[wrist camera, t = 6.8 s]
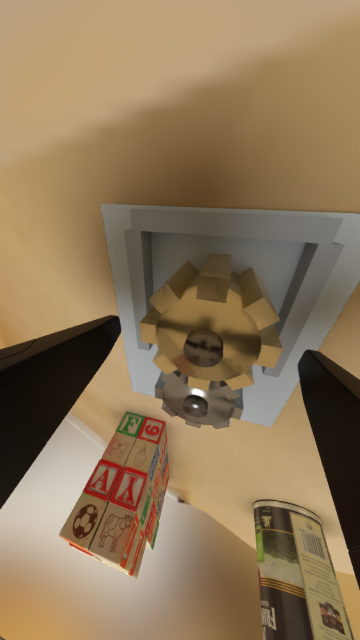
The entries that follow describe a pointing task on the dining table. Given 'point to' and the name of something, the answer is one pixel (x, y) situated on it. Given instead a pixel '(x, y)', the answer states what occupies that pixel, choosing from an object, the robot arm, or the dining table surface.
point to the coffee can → (297, 576)
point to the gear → (199, 400)
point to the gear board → (246, 251)
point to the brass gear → (213, 324)
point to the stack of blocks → (123, 497)
